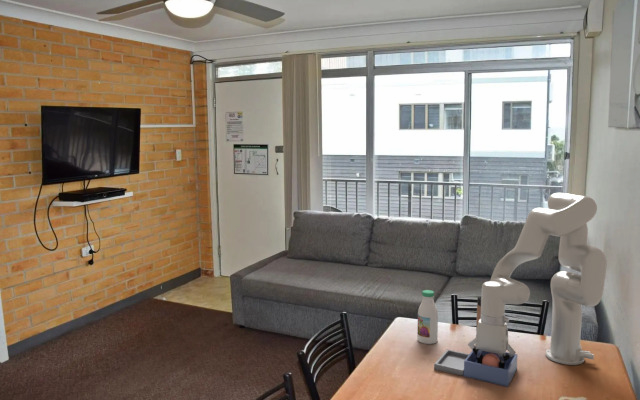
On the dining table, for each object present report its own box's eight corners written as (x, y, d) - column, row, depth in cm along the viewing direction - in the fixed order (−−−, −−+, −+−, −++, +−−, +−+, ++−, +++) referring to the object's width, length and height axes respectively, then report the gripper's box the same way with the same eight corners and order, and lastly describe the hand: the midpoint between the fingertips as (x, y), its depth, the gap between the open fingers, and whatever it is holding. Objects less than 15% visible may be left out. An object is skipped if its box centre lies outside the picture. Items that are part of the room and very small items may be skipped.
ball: (501, 369, 176) (502, 352, 175) (497, 376, 171) (498, 359, 170) (484, 365, 179) (484, 349, 178) (479, 372, 174) (479, 356, 173)
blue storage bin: (516, 369, 177) (517, 354, 177) (507, 387, 165) (508, 370, 165) (475, 360, 185) (475, 345, 184) (463, 376, 173) (464, 360, 172)
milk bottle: (430, 335, 208) (431, 287, 205) (441, 343, 200) (442, 293, 198) (413, 338, 205) (414, 289, 203) (423, 345, 198) (424, 295, 195)
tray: (474, 360, 185) (474, 355, 185) (462, 376, 173) (463, 370, 173) (446, 354, 190) (447, 349, 190) (434, 369, 178) (434, 363, 178)
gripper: (521, 319, 171) (519, 371, 174) (469, 311, 180) (468, 360, 182) (517, 327, 165) (515, 380, 167) (463, 317, 174) (462, 368, 176)
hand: (490, 369), depth 175 cm, fingers closed on ball, 5 cm apart
